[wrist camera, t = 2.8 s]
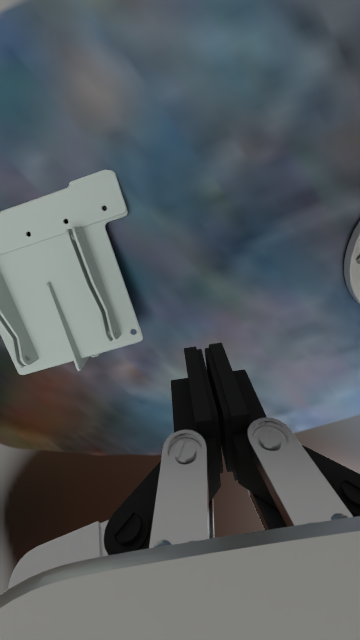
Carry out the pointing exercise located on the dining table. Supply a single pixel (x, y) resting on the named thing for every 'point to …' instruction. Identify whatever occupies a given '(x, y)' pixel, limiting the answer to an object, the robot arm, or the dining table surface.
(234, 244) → the dining table surface
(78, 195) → the metal bracket
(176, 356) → the dining table surface
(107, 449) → the dining table surface
